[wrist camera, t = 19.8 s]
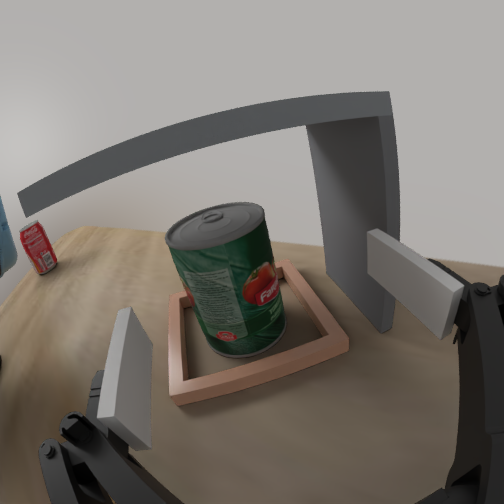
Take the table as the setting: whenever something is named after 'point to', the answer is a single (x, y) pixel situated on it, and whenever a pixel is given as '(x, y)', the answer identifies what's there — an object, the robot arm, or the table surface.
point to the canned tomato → (230, 277)
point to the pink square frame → (261, 369)
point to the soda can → (38, 247)
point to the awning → (325, 170)
